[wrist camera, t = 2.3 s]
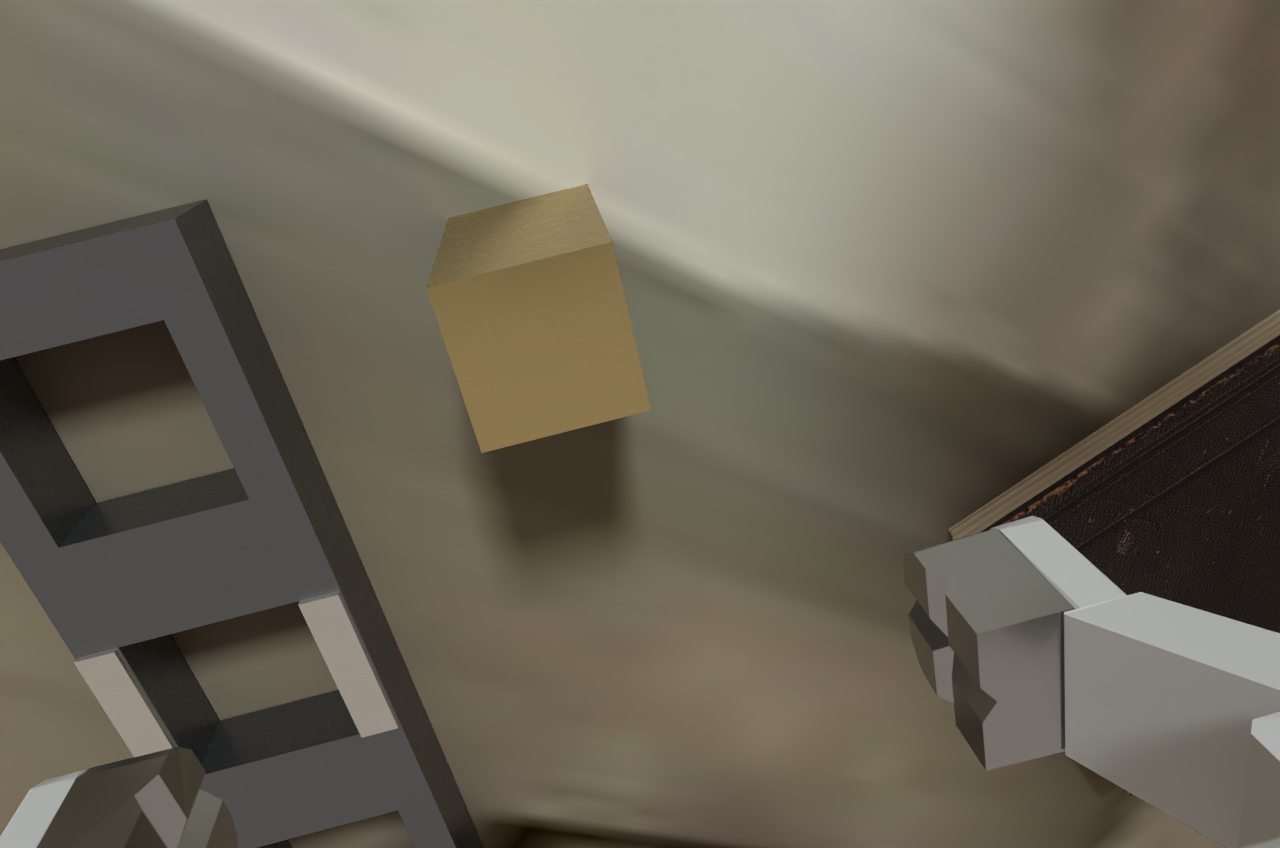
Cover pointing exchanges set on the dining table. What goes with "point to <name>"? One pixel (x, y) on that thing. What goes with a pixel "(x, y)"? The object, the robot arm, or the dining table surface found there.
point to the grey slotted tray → (209, 547)
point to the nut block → (536, 319)
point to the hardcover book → (1176, 488)
